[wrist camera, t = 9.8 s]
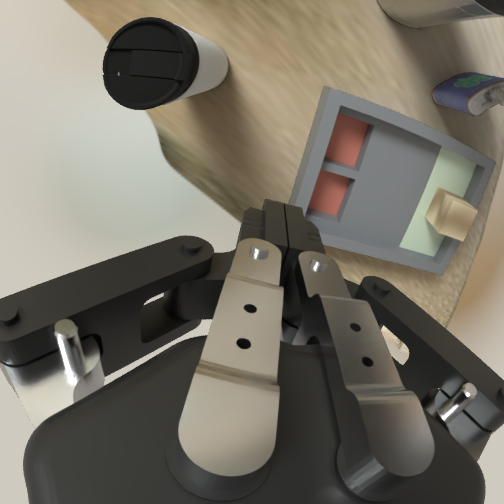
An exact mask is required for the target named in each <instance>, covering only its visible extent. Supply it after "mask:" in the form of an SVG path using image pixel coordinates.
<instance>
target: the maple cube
mask: <svg viewBox="0 0 504 504" xmlns="http://www.w3.org/2000/svg"><path fill="white" fill-rule="evenodd" d="M477 213H478V211H477V210H476V209H475V208H474V207H473V206H472V205H470V204H469V203H468V202H467V201H466V200H465V199H463V198H462V197H460V196H458V195H456V194H453V193H451V192H449V191H447V190H444V189H442V188H440V187H437V190H436V192H435V194H434V197H433V199H432V201H431V204H430V206H429V208H428V210H427V213H426V215H425V218H426V219H427V220H428V221H429V222H430V223H431V225H432V226H433V227H434V228H435V229H436V230H437V231H438V233H441V234H444V235H446V236H449V237H452V238H455V239H458V240H460V241H464V239H465V237H466V235H467V233H468V231H469V229H470V227H471V225H472V223H473V221H474V219H475V217H476V215H477Z"/></svg>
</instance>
